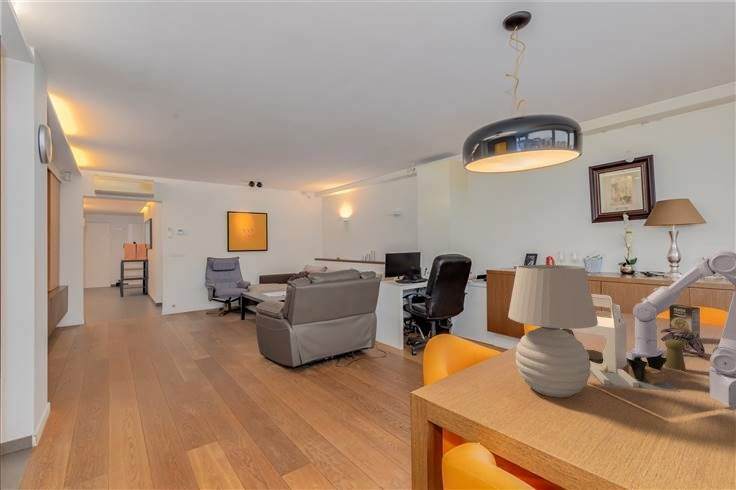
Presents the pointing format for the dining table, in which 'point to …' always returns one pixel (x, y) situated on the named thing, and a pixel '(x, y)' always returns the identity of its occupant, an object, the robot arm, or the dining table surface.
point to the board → (626, 380)
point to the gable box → (608, 335)
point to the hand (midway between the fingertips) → (646, 378)
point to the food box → (685, 318)
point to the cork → (675, 355)
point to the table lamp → (552, 327)
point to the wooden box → (651, 376)
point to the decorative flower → (685, 339)
